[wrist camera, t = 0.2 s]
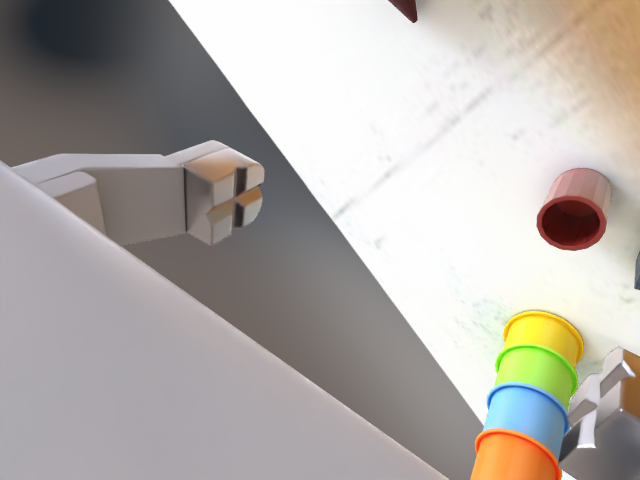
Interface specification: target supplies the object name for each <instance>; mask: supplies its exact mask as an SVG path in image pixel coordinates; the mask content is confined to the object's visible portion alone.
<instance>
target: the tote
mask: <svg viewBox="0 0 640 480" xmlns="http://www.w3.org/2000/svg"><path fill="white" fill-rule="evenodd" d="M634 288H635V289H638V290H640V252H639V254H638V257H637V260H636V268H635V286H634Z"/></svg>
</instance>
